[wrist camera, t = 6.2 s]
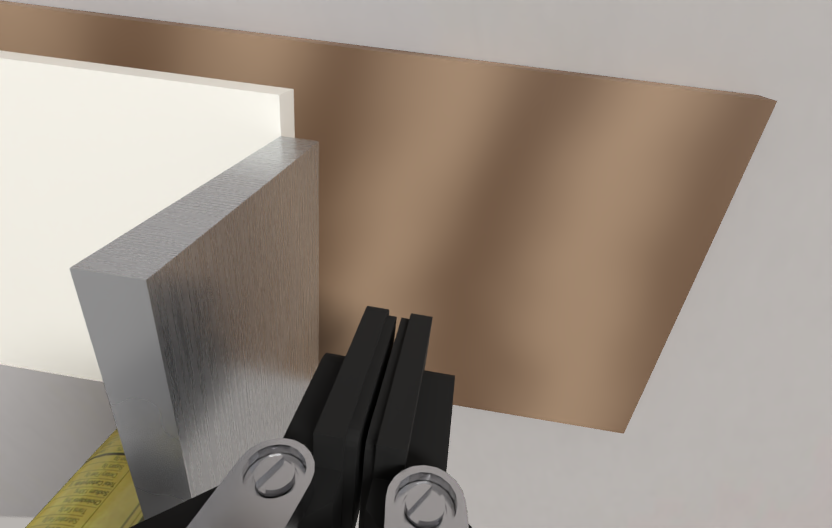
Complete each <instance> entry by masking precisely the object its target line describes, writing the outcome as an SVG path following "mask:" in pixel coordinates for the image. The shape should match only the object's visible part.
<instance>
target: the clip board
mask: <svg viewBox="0 0 832 528" xmlns="http://www.w3.org/2000/svg"><path fill="white" fill-rule="evenodd" d="M0 50H1V51H8V52H16V53H23V54H31V55H39V56H46V57H54V58H61V59H69V60H77V61H84V62H92V63H99V64H107V65H115V66H122V67H130V68H137V69H145V70H153V71H160V72H168V73H175V74H183V75H191V76H198V77H206V78H213V79H221V80H229V81H236V82H245V83H252V84H259V85H266V86H274V87H282V88H289V89H294V127H295V138H299V139H306V140H313V141H319V363H320V361H321V359H322V357H323V356H324V354H325V353H331V354H337V355H342V356H346V354H347V352H348V349H349V347H350V345H351V342H352V340H353V337H354V335H355V333H356V330H357V328H358V326H359V323H360V321H361V318H362V316H363V314H364V311H365V309H366V307H367V306H372V307H378V308H384V309H389V315H390V316H396V317H397V320H396V330H395V338H396V334H397V331H398V328H399V324H400V321H401V318H408V319H410V315H411V313H413V314H419V315H425V316H431V317H433V318H432V325H431V332H430V338H429V345H428V351H427V358H426V364H425V370H427V371H432V372H438V373H444V374H449V375H455V384H454V395H453V405H458V406H464V407H470V408H476V409H482V410H488V411H494V412H500V413H505V414H511V415H517V416H523V417H529V418H535V419H541V420H547V421H553V422H559V423H565V424H571V425H577V426H583V427H589V428H594V429H600V430H606V431H612V432H618V433H624V432H625V430H626V427H627V425H628V423H629V421H630V419H631V417H632V414H633V412H634V410H635V408H636V406H637V404H638V401H639V399H640V397H641V395H642V393H643V391H644V388H645V386H646V384H647V382H648V380H649V378H650V375H651V373H652V371H653V369H654V367H655V365H656V362H657V360H658V358H659V356H660V354H661V352H662V349H663V347H664V345H665V343H666V341H667V339H668V336H669V334H670V332H671V330H672V328H673V326H674V323H675V321H676V319H677V317H678V315H679V313H680V310H681V308H682V306H683V304H684V302H685V300H686V297H687V295H688V293H689V291H690V289H691V287H692V284H693V282H694V280H695V278H696V276H697V274H698V271H699V269H700V267H701V265H702V263H703V261H704V258H705V256H706V254H707V252H708V250H709V247H710V245H711V243H712V241H713V239H714V237H715V234H716V232H717V230H718V228H719V226H720V224H721V221H722V219H723V217H724V215H725V213H726V211H727V208H728V206H729V204H730V202H731V200H732V198H733V195H734V193H735V191H736V189H737V187H738V185H739V182H740V180H741V178H742V176H743V174H744V172H745V169H746V167H747V165H748V163H749V161H750V159H751V156H752V154H753V152H754V150H755V148H756V146H757V143H758V141H759V139H760V137H761V135H762V133H763V130H764V128H765V126H766V124H767V122H768V120H769V117H770V115H771V113H772V111H773V109H774V107H775V104H776V102H777V101H775V100H772V99H768V98H765V97H762V96H759V95H752V94H744V93H736V92H728V91H720V90H712V89H704V88H696V87H688V86H680V85H672V84H664V83H656V82H648V81H640V80H632V79H624V78H616V77H608V76H600V75H592V74H584V73H576V72H568V71H560V70H552V69H544V68H536V67H528V66H520V65H512V64H504V63H496V62H488V61H480V60H472V59H464V58H456V57H448V56H440V55H432V54H424V53H416V52H408V51H400V50H392V49H384V48H376V47H368V46H360V45H352V44H344V43H336V42H328V41H320V40H312V39H304V38H296V37H288V36H280V35H272V34H264V33H256V32H248V31H240V30H232V29H224V28H216V27H208V26H200V25H192V24H184V23H176V22H168V21H160V20H152V19H144V18H136V17H128V16H120V15H112V14H104V13H96V12H88V11H80V10H72V9H64V8H56V7H48V6H40V5H32V4H24V3H16V2H8V1H0ZM394 341H395V339H394Z"/></svg>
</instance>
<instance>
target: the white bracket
mask: <svg viewBox="0 0 832 528" xmlns="http://www.w3.org/2000/svg"><path fill="white" fill-rule="evenodd" d="M0 364H2V365H7V366H13V367H19V368H25V369H30V370H36V371H42V372H48V373H53V374H59V375H65V376H71V377H77V378H82V379H88V380H94V381H100V382H103V383H104V386H105V389H106V393H107V396H108V399H109V403H110V406H111V409H112V413H113V416H114V420H115V423H116V426H117V430H118V433H119V436H120V440H121V443H122V446H123V450H124V453H125V456H126V460H127V463H128V466H129V470H130V473H131V476H132V480H133V483H134V487H135V490H136V493H137V497H138V500H139V503H140V507H141V510H142V513H143V517H144V520H146V519H149V518H151V517H153V516H155V515H157V514H159V513H161V512H163V511H166V510H168V509H170V508H172V507H174V506H176V505H178V504H180V503H183V502H185V501H187V500H189V499H191V498H193V497H195V496H197V495H200V494H202V493H204V492H206V491H208V490H210V489H212V488H214V487H217V486H219V484H220V483H221V482H222V481H223V479H224V478H225V477H226V475H227V474H228V473H229V471H230V470H231V469H232V468H233V466H234V465H235V464H236V462H237V461H238V460H239V458H240V457H241V456H242V455H243V454H244V453H245V452H246V451H247V450H248V449H250V448H251V447H253V446H255V445H256V444H258V443H260V442H263V441H266V440H269V439H276V438H283V437H284V435H285V433H286V431H287V429H288V427H289V425H290V422H291V420H292V418H293V416H294V414H295V412H296V410H297V408H298V406H299V404H300V402H301V400H302V398H303V396H304V394H305V392H306V390H307V388H308V386H309V384H310V381H311V379H312V377H313V375H314V373H315V371H316V369H317V367H318V365H319V141H313V140H306V139H299V138H295V127H294V89H289V88H282V87H274V86H266V85H259V84H252V83H245V82H236V81H229V80H221V79H213V78H206V77H198V76H191V75H183V74H175V73H168V72H160V71H153V70H145V69H137V68H130V67H122V66H115V65H107V64H99V63H92V62H84V61H77V60H69V59H61V58H54V57H46V56H39V55H31V54H23V53H16V52H8V51H1V50H0Z"/></svg>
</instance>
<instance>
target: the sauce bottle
mask: <svg viewBox="0 0 832 528" xmlns="http://www.w3.org/2000/svg"><path fill="white" fill-rule="evenodd" d="M142 521H144V517H143V513H142V510H141V507H140V503H139V500H138V497H137V493H136V490H135V487H134V483H133V480H132V476H131V473H130V470H129V466H128V463H127V460H126V456H125V453H124V450H123V446H122V443H121V440H120V436H119V433H118V430H117V429H116V430H115V431H114V432H113V433H112V434H111V435H110V437H109V438H108V439H107V440H106V441H105V442H104V443H103V444H102V445H101V446H100V447H99V448H98V449H97V450H96V452H95V453H94V454H93V455H92V456H91V457H90V458H89V459H88V460H87V461H86V462H85V464H84V465H83V466H82V467H81V468H80V469H79V470H78V471H77V472H76V473H75V474H74V475H73V477H72V478H71V479H70V480H69V481H68V482H67V483H66V484H65V485H64V486H63V487H62V489H61V490H60V491H59V492H58V493H57V494H56V495H55V496H54V497H53V498H52V499H51V501H50V502H49V503H48V504H47V505H46V506H45V507H44V508H43V509H42V510H41V511H40V512H39V513H38V515H37V516H36V517H35V518H34V519H33V520H32V521H31V522H30V523H29V524H28V525H27V527H25V528H129V527H132V526H134V525H136V524H138V523H140V522H142Z"/></svg>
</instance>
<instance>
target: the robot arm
mask: <svg viewBox="0 0 832 528" xmlns="http://www.w3.org/2000/svg"><path fill="white" fill-rule="evenodd" d="M432 318H433V317H431V316H425V315H419V314H413V313H411V315H410V319H408V318H401V321H400V324H399V328H398V331H397V334H396V338H395V330H396V320H397V317H396V316H390V315H389V309H384V308H378V307H372V306H367V307H366V309H365V311H364V314H363V316H362V318H361V321H360V323H359V326H358V328H357V330H356V333H355V335H354V337H353V340H352V342H351V345H350V347H349V349H348V352H347V354H346V356H342V355H337V354H331V353H325V354H324V356H323V357H322V359H321V361H320V363H319V365H318V367H317V369H316V371H315V373H314V375H313V377H312V379H311V381H310V384H309V386H308V388H307V390H306V392H305V394H304V396H303V398H302V400H301V402H300V404H299V406H298V408H297V410H296V412H295V414H294V416H293V418H292V420H291V422H290V425H289V427H288V429H287V431H286V433H285V435H284V437H283V438H276V439H269V440H266V441H263V442H260V443H258V444H256V445H255V446H253V447H251V448H250V449H248V450H247V451H246V452H245V453H244V454H243V455H242V456H241V457H240V458H239V460H238V461H237V462H236V464H235V465H234V466H233V468H232V469H231V470H230V471H229V473H228V474H227V475H226V477H225V478H224V479H223V481H222V482H221V483H220V484H219V486H217V487H214V488H212V489H210V490H208V491H206V492H204V493H202V494H200V495H197V496H195V497H193V498H191V499H189V500H187V501H185V502H183V503H180V504H178V505H176V506H174V507H172V508H170V509H168V510H166V511H163V512H161V513H159V514H157V515H155V516H153V517H151V518H149V519H146V520H144V521H142V522H140V523H138V524H136V525H134V526H132V527H129V528H355V526H356V522H357V518H358V514H359V510H360V516H359V528H472V527H471V526H470V525H469V524H468V516H467V507H466V501H465V497H464V494H463V490H462V489H461V487H460V486H459V484H458V483H457V481H456V480H455V479H454V478H453V477H451V476H450V475H449V474H448V473H447V472H446V469H447V458H448V447H449V437H450V426H451V416H452V405H453V395H454V384H455V375H449V374H444V373H438V372H432V371H427V370H425V364H426V358H427V351H428V345H429V338H430V332H431V325H432ZM394 339H395V341H394Z"/></svg>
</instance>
